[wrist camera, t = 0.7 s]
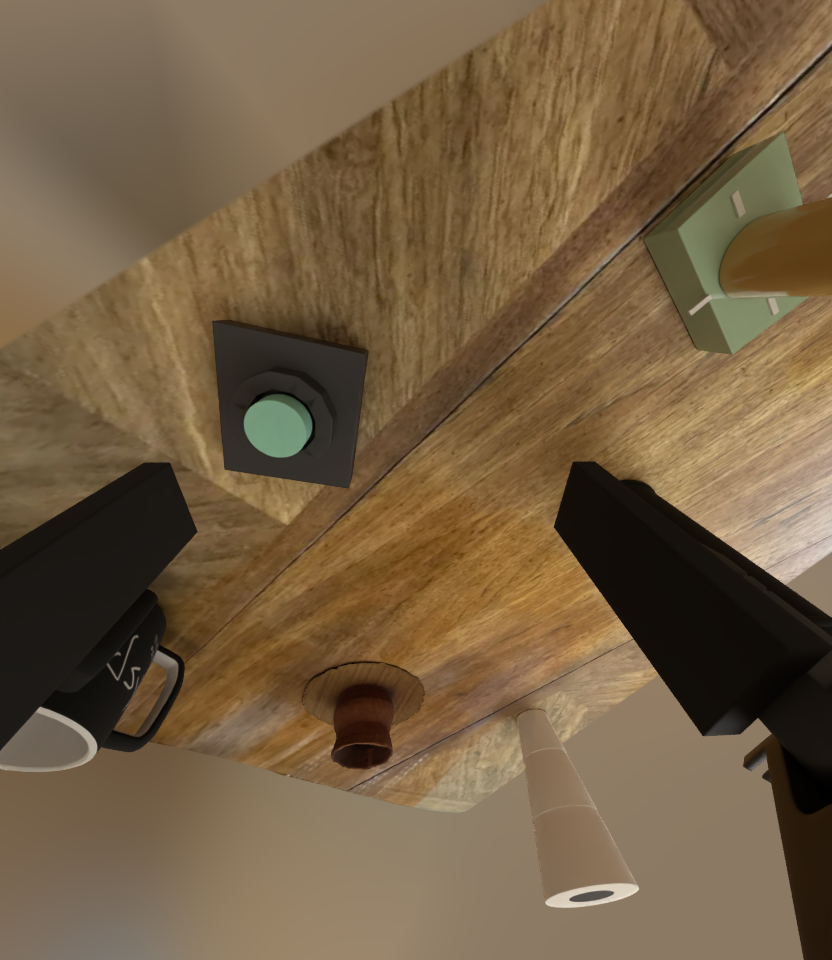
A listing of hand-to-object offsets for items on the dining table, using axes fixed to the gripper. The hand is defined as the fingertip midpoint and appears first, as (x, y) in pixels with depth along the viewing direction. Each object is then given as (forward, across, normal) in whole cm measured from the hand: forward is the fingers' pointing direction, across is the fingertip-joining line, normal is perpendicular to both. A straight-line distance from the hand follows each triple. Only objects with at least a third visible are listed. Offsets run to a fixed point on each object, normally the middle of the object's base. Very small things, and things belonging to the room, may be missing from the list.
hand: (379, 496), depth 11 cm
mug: (+16, -30, -25) cm, 42 cm away
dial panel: (+16, +23, +9) cm, 30 cm away
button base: (+16, -8, -2) cm, 18 cm away
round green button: (+13, -7, -2) cm, 15 cm away
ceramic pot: (+16, -5, -45) cm, 48 cm away
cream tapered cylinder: (+16, +22, -53) cm, 60 cm away
